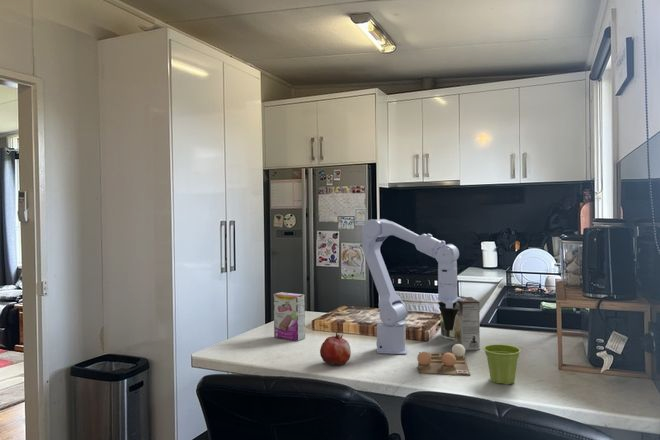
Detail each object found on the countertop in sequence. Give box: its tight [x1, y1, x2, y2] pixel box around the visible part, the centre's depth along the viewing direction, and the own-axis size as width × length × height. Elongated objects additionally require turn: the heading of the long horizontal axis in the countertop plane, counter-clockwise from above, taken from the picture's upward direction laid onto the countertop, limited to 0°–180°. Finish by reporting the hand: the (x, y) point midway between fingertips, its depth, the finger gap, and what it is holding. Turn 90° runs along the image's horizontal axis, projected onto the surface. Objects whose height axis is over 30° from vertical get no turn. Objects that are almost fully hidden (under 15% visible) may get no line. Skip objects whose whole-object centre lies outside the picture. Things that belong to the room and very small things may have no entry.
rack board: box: [417, 351, 471, 377], centre depth 146 cm, size 14×20×1 cm
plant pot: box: [483, 343, 522, 385], centre depth 131 cm, size 9×9×9 cm
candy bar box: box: [273, 291, 306, 342], centre depth 180 cm, size 11×5×16 cm, turn 58°
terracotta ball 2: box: [442, 352, 456, 367], centre depth 141 cm, size 4×4×4 cm
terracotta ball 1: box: [417, 351, 431, 366], centre depth 143 cm, size 4×4×4 cm
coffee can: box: [440, 295, 464, 341], centre depth 179 cm, size 10×10×14 cm
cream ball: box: [451, 343, 466, 357], centre depth 150 cm, size 4×4×4 cm
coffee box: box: [454, 296, 481, 351], centre depth 165 cm, size 9×6×16 cm
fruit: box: [319, 331, 352, 367], centre depth 148 cm, size 9×10×10 cm
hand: (448, 327), depth 151 cm, fingers open, 7 cm apart
